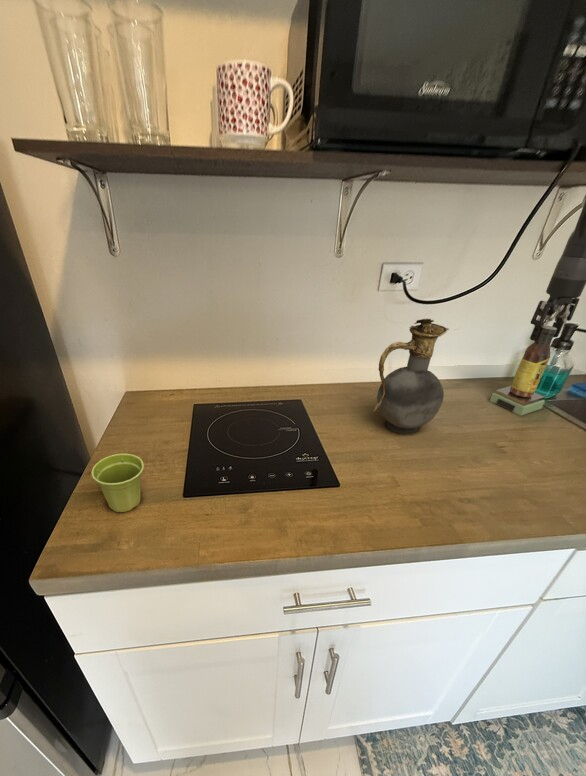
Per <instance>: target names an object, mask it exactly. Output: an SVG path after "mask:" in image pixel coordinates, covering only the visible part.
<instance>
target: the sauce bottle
mask: <svg viewBox="0 0 586 776" xmlns="http://www.w3.org/2000/svg"><path fill="white" fill-rule="evenodd" d="M556 331H557V328H555V327H552V325H546V326H545V327H544V331H543V333H542V335H541V338H540V340H539V341H534V342H533V343H532V344H530V345H529V346H528V347H527V348H526V349H525V350H524V354H523V357H522V358H521V360H520V363H519V365H518V368H517V370H516V372H515V375H514V377H513V380H512V382H511V385H510V386H511V388H510V392H511V393H513V394H514V395H517V396H521V397H531V396H532V395H533V394H534V393H536V391H537V388H538V386H539V383H540V382H541V380H542V377H543V374H544V373H545V371H546V368H547V366H548V364H549V361H550V360H551V344H552V341H553V338H554V337H553V336H554V335H555V333H556Z"/></svg>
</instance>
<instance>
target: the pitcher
mask: <svg viewBox="0 0 586 776" xmlns="http://www.w3.org/2000/svg"><path fill="white" fill-rule="evenodd" d="M433 322H435V320H433V319H432V318H422V319H417V320H416V321H415V322H413V324H414V325H411V326H409V327H408V328H409V329H408V330H409V332H410V333H411V340H410V341H408V342H403V341H395V342H392V343H391V344H389V345H388V346H387V347H386V348H385V349H384V351H383V352H382V354H381V356H380V358H379V362H378V373H379V378H380V381H381V384H380V386H379V387H378V389H377V390H378V391H377V394H376V395H377V396H376V401H377V404H375V406H374V408H373V411H372V412H373V413H375V412H376V411H377V410H379V412H380V413H381V416H382V417H383V419H385V420H386V421H387V423H386V424H387V425H386V426H387V428H388V429H389V430H390V431H391V432H394V433H397V434H400V435H411V434H414V433H416V432H417V431H418V428H420V427H422V426H424V425H426V424H428V423H430V422H431V421H432V420H434V418H435V417H436V416H437V414H438V412H439V411H440V409H441V407H442V405H443V402H444V397H445V396H444V395H445V394H444V393H445V392H444V388H443V385H442V383H441V381H440V379H439V378H438V377H437V376H436V375H435V373H433V372H432V371H430V370H429V366H430V363H431V358H432V357H433V354H434V349H435V348H434V347H435V344H436V342H437V340H438V338H439V337H441V336H444V335H445V334H446V333H447V331H449V330H450V328H449V327H446V326H444V325H440V324H437V323H433ZM400 349H401V350H404V351H408V353H409V356H408V360H407V364H406V366H402V367H398V368H396V369H394V370H393V371H391V372H390V373H388V374H387V375H386V376H384V371H385V362H386V360H387V357H388V356H389V355H390V353H392V352H393V351H396V350H400Z"/></svg>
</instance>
